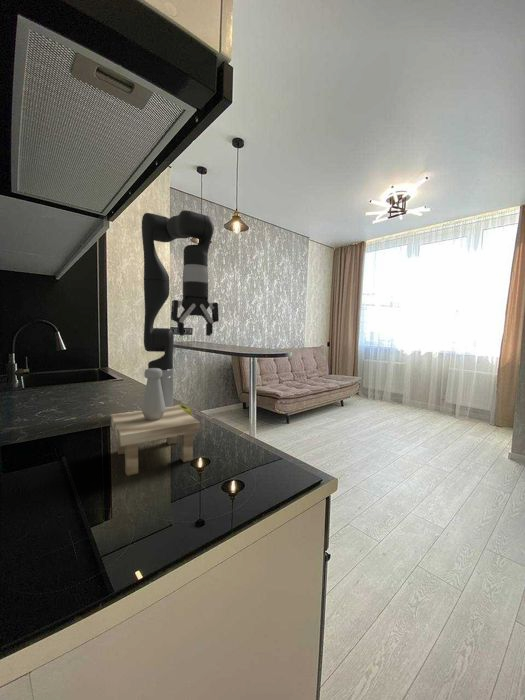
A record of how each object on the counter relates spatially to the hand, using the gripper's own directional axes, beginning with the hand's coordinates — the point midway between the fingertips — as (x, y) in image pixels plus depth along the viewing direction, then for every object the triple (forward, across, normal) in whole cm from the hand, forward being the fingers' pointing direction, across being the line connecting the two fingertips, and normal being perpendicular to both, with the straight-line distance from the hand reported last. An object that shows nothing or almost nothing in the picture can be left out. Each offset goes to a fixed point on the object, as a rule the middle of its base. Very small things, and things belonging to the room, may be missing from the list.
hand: (195, 335), depth 89 cm
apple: (+32, -3, +6) cm, 32 cm away
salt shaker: (+21, -14, -10) cm, 27 cm away
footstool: (+31, -14, -10) cm, 36 cm away
